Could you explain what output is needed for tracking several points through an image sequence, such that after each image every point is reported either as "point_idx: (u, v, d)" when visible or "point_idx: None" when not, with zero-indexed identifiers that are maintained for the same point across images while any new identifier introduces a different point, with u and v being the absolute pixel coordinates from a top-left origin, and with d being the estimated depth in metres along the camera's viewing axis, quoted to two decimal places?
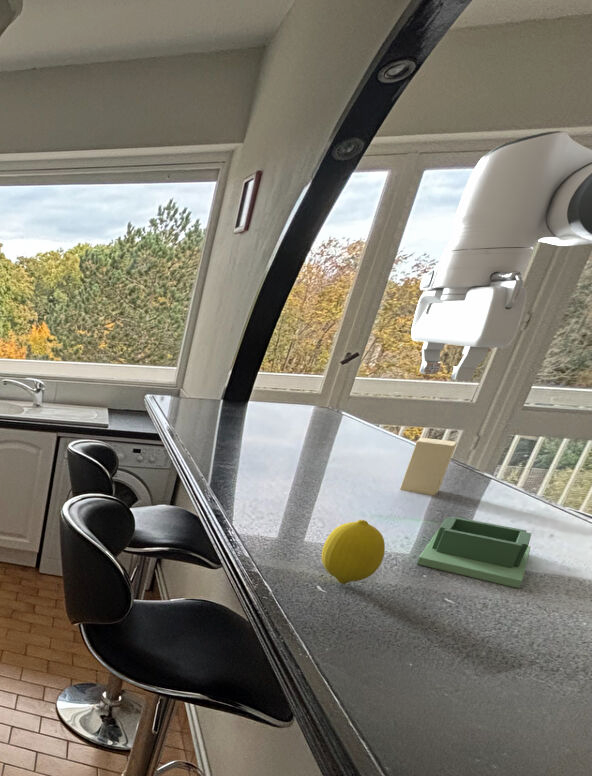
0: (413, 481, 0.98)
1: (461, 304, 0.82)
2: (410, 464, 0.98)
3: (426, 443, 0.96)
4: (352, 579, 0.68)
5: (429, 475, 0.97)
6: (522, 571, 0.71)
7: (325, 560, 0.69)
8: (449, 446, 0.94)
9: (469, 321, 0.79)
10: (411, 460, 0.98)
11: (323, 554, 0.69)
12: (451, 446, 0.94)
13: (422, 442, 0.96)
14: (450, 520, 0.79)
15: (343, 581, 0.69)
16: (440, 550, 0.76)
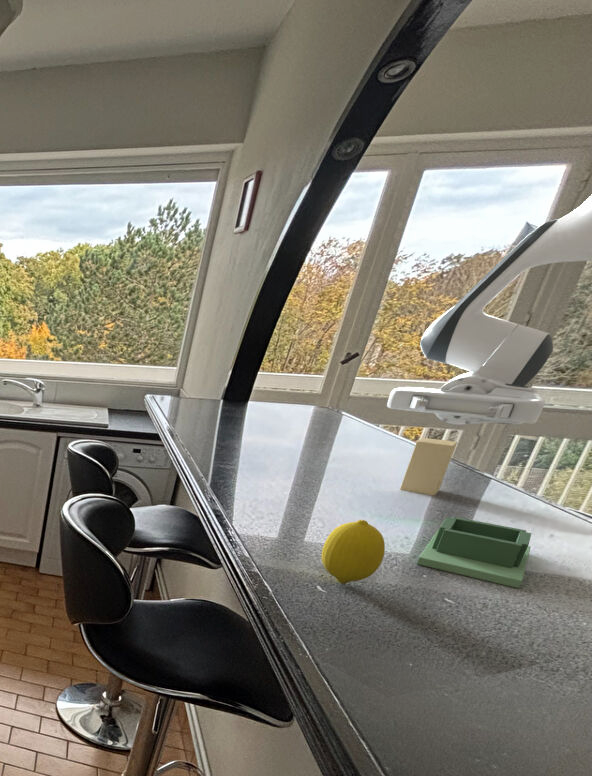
0: (413, 481, 0.98)
1: None
2: (410, 464, 0.98)
3: (426, 443, 0.96)
4: (352, 579, 0.68)
5: (429, 475, 0.97)
6: (522, 571, 0.71)
7: (325, 560, 0.69)
8: (449, 446, 0.94)
9: None
10: (411, 460, 0.98)
11: (323, 554, 0.69)
12: (451, 446, 0.94)
13: (422, 442, 0.96)
14: (450, 520, 0.79)
15: (343, 581, 0.69)
16: (440, 550, 0.76)
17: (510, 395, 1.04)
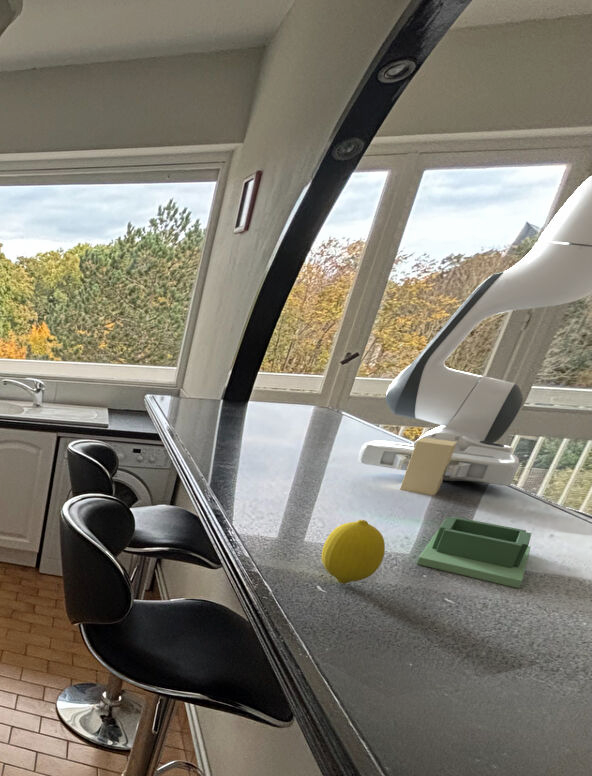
0: (413, 481, 0.98)
1: None
2: (410, 464, 0.98)
3: (426, 443, 0.96)
4: (352, 579, 0.68)
5: (428, 475, 0.97)
6: (522, 571, 0.71)
7: (325, 560, 0.69)
8: (449, 446, 0.94)
9: None
10: (411, 460, 0.98)
11: (323, 554, 0.69)
12: (451, 446, 0.94)
13: (422, 442, 0.96)
14: (450, 520, 0.79)
15: (343, 581, 0.69)
16: (440, 550, 0.76)
17: (484, 454, 1.00)
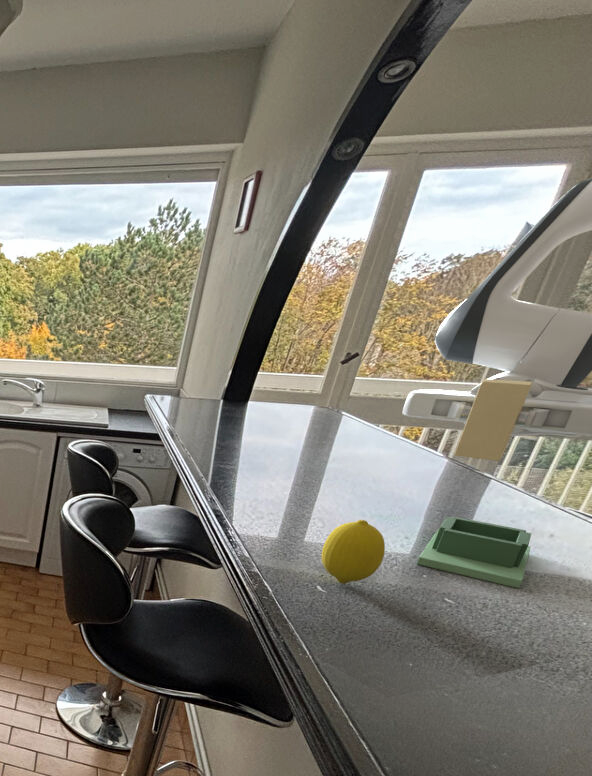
0: (476, 432, 0.79)
1: None
2: (472, 411, 0.79)
3: (494, 383, 0.77)
4: (352, 579, 0.68)
5: (496, 424, 0.78)
6: (522, 571, 0.71)
7: (325, 560, 0.69)
8: (524, 385, 0.75)
9: None
10: (474, 406, 0.79)
11: (323, 554, 0.69)
12: (527, 385, 0.75)
13: (489, 382, 0.78)
14: (450, 520, 0.79)
15: (343, 581, 0.69)
16: (440, 550, 0.76)
17: (564, 399, 0.81)
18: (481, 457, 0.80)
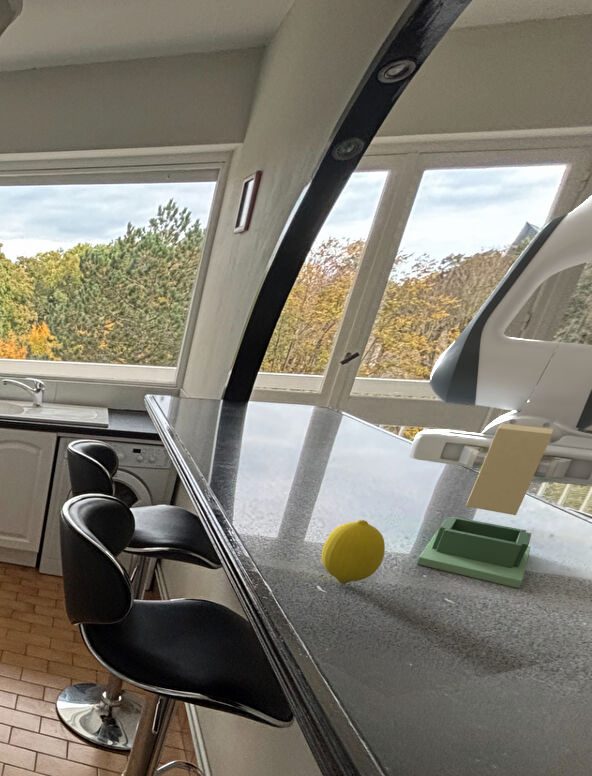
0: (491, 482, 0.72)
1: None
2: (487, 459, 0.72)
3: (511, 431, 0.70)
4: (352, 579, 0.68)
5: (514, 475, 0.71)
6: (522, 571, 0.71)
7: (325, 560, 0.69)
8: (546, 434, 0.68)
9: None
10: (489, 454, 0.72)
11: (323, 554, 0.69)
12: (549, 434, 0.68)
13: (506, 429, 0.70)
14: (450, 520, 0.79)
15: (343, 581, 0.69)
16: (440, 550, 0.76)
17: (586, 446, 0.74)
18: (496, 509, 0.73)
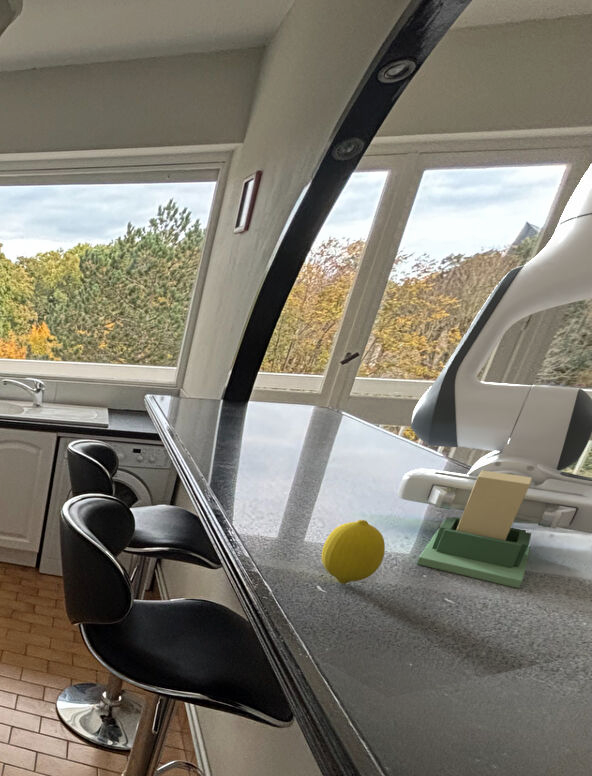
0: (472, 528, 0.75)
1: None
2: (468, 506, 0.74)
3: (491, 479, 0.72)
4: (352, 579, 0.68)
5: (494, 522, 0.73)
6: (522, 571, 0.71)
7: (325, 560, 0.69)
8: (524, 484, 0.70)
9: None
10: (470, 501, 0.74)
11: (323, 554, 0.69)
12: (526, 485, 0.70)
13: (485, 478, 0.73)
14: (450, 520, 0.79)
15: (343, 581, 0.69)
16: (440, 550, 0.76)
17: (569, 490, 0.75)
18: None
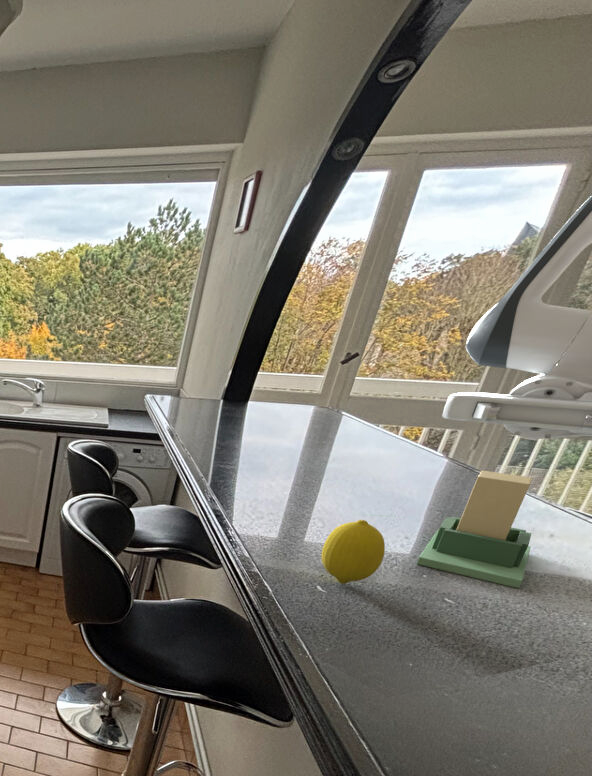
0: (472, 528, 0.75)
1: None
2: (468, 506, 0.74)
3: (491, 479, 0.72)
4: (352, 579, 0.68)
5: (494, 522, 0.73)
6: (522, 571, 0.71)
7: (325, 560, 0.69)
8: (524, 484, 0.70)
9: None
10: (470, 501, 0.74)
11: (323, 554, 0.69)
12: (526, 485, 0.70)
13: (485, 478, 0.73)
14: (450, 520, 0.79)
15: (343, 581, 0.69)
16: (440, 550, 0.76)
17: None
18: None
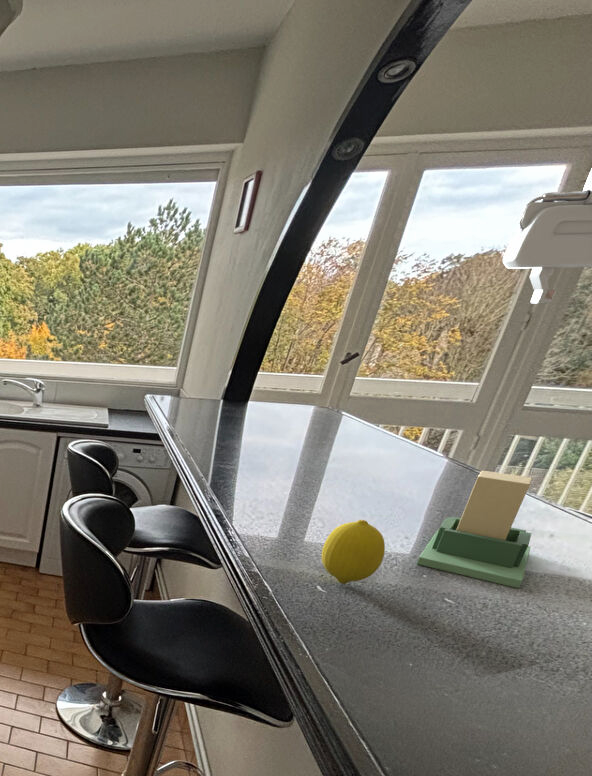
0: (472, 528, 0.75)
1: None
2: (468, 506, 0.74)
3: (491, 479, 0.72)
4: (352, 579, 0.68)
5: (494, 522, 0.73)
6: (522, 571, 0.71)
7: (325, 560, 0.69)
8: (524, 484, 0.70)
9: None
10: (470, 501, 0.74)
11: (323, 554, 0.69)
12: (526, 485, 0.70)
13: (485, 478, 0.73)
14: (450, 520, 0.79)
15: (343, 581, 0.69)
16: (440, 550, 0.76)
17: None
18: None
